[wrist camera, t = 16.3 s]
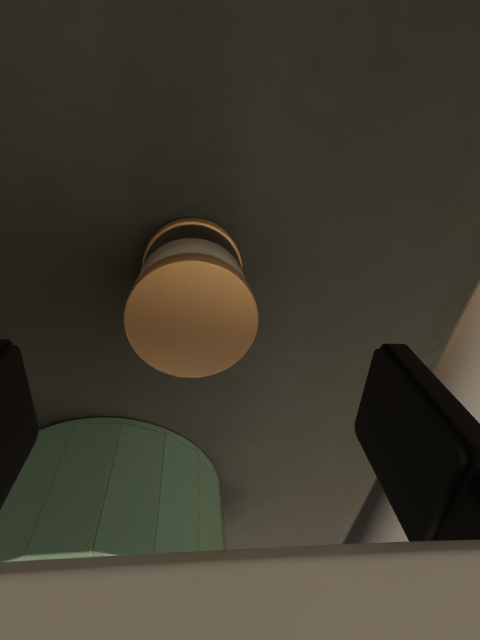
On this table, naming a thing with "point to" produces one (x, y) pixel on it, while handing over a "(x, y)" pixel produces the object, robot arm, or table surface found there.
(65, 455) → the pot
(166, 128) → the table surface
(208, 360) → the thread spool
